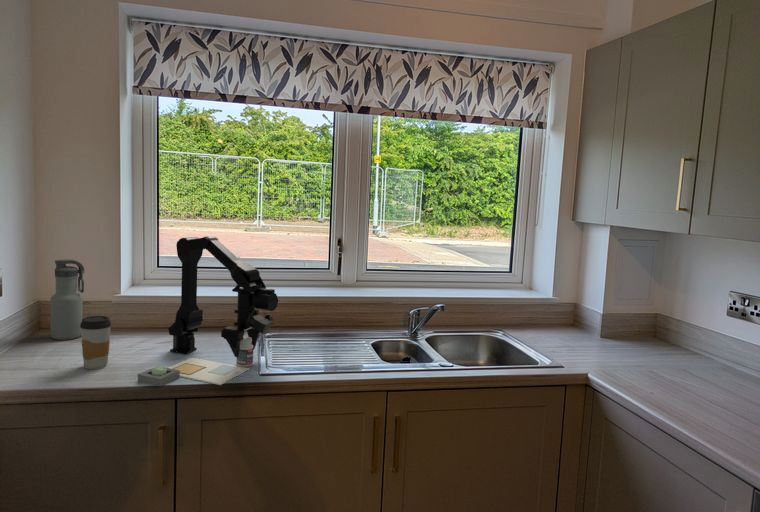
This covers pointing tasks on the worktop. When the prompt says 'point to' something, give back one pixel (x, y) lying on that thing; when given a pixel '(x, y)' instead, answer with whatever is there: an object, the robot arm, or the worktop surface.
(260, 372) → the worktop surface
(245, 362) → the pill bottle
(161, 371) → the button
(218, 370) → the picture board
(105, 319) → the coffee cup
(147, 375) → the button housing
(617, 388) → the worktop surface
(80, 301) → the water bottle
